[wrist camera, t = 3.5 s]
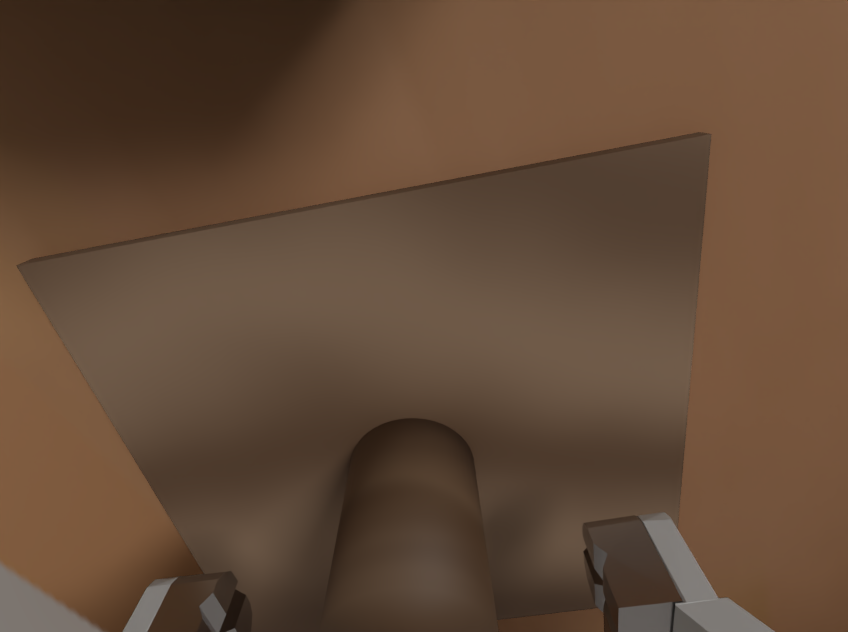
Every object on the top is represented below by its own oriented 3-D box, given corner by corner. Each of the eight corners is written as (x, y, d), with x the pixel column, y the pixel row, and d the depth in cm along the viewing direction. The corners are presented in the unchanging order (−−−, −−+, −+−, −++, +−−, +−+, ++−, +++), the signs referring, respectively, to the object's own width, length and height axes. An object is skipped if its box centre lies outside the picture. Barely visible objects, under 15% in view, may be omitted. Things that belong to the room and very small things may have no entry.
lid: (655, 567, 14) (762, 782, 10) (259, 616, 15) (193, 832, 11) (681, 129, 9) (951, 171, 4) (53, 249, 10) (-257, 384, 5)
